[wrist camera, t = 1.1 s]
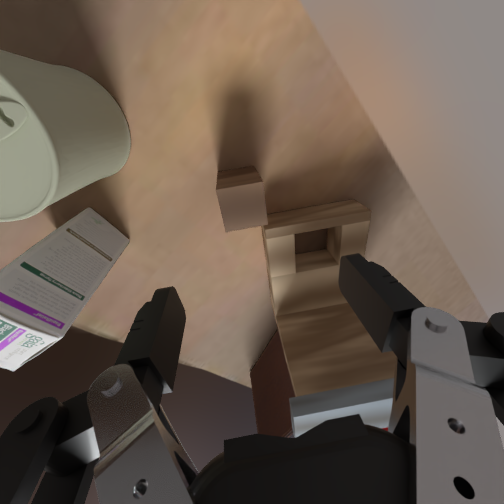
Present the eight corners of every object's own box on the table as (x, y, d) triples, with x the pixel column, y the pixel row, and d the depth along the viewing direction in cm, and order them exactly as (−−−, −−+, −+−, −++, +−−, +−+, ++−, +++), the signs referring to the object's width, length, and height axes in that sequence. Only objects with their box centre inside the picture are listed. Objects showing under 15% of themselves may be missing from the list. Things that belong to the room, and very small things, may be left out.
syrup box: (89, 204, 25) (-45, 293, 12) (133, 241, 27) (60, 342, 15) (57, 232, 26) (-93, 338, 14) (103, 264, 29) (13, 375, 16)
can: (150, 160, 23) (91, 194, 13) (72, 191, 24) (-42, 247, 13) (86, 46, 18) (-91, -44, 8) (-9, 90, 19) (-283, 59, 9)
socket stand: (252, 217, 27) (285, 335, 13) (361, 197, 28) (519, 291, 13) (266, 313, 37) (296, 445, 22) (348, 297, 37) (431, 418, 22)
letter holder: (249, 371, 46) (258, 461, 34) (290, 304, 37) (323, 395, 25) (291, 376, 49) (313, 460, 37) (339, 315, 39) (390, 400, 28)
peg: (217, 171, 24) (216, 189, 18) (253, 165, 24) (263, 181, 18) (225, 206, 26) (225, 232, 20) (257, 200, 26) (267, 224, 21)
